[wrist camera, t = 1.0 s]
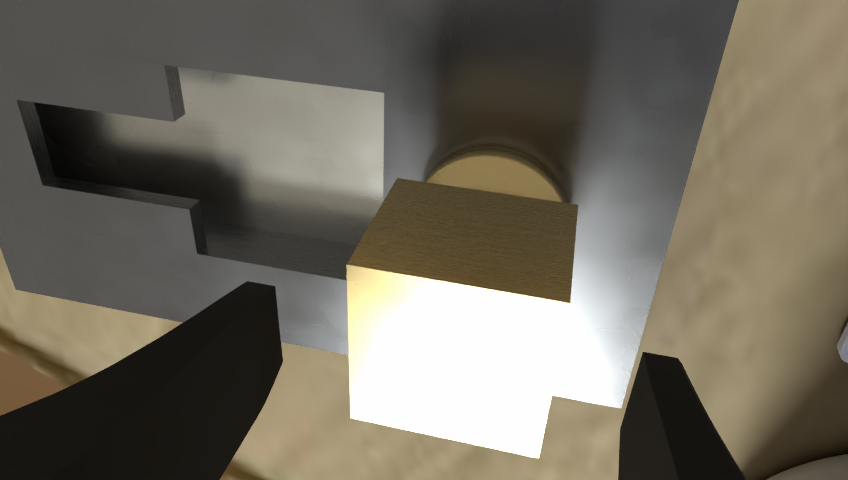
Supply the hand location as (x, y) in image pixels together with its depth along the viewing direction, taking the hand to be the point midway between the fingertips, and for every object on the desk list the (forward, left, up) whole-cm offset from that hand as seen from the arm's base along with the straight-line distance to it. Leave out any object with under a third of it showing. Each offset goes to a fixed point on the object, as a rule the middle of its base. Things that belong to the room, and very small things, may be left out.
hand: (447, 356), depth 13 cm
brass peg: (0, 0, -6) cm, 6 cm away
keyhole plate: (+6, 0, -8) cm, 10 cm away
